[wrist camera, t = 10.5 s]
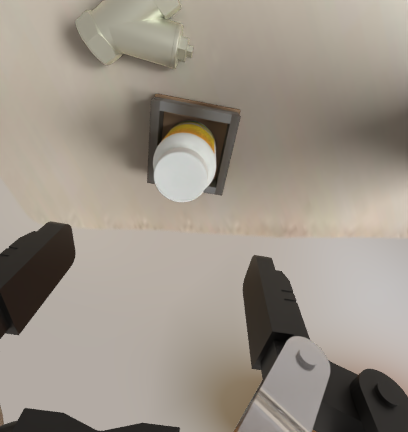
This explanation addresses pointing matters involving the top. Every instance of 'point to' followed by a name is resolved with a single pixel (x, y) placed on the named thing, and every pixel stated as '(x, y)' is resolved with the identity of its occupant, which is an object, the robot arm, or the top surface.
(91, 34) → the pipe fitting
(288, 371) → the robot arm
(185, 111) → the square holder
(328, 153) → the top surface
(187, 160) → the supplement bottle
